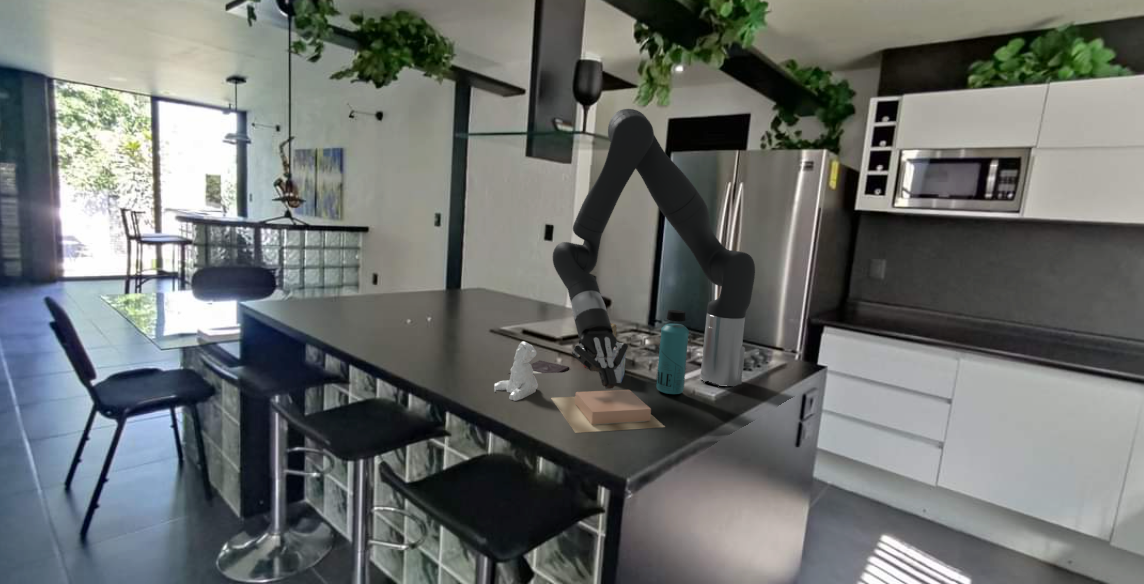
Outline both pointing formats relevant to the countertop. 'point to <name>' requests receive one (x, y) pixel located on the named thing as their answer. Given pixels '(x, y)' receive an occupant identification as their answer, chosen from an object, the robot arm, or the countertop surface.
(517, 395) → the sitting furry creature
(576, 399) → the glazed tile
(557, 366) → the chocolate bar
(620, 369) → the medicine box
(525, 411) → the countertop surface
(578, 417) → the birch board
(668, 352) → the beverage bottle
